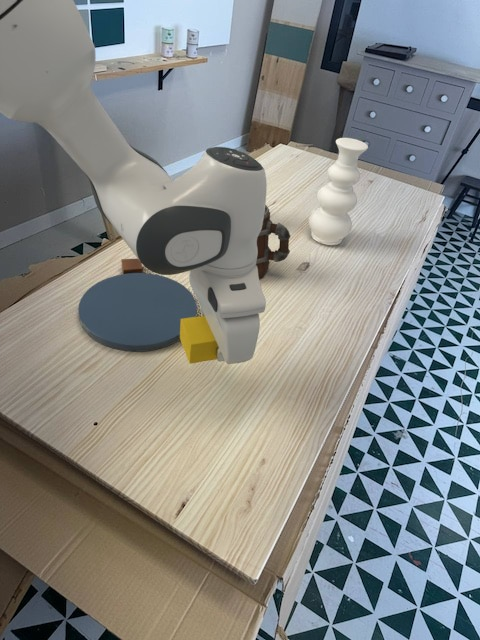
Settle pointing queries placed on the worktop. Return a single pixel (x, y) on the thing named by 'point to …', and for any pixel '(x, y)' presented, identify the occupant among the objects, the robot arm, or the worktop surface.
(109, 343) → the plate
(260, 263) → the mug
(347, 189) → the vase
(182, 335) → the yellow block
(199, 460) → the worktop surface
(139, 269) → the brown box
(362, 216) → the worktop surface
